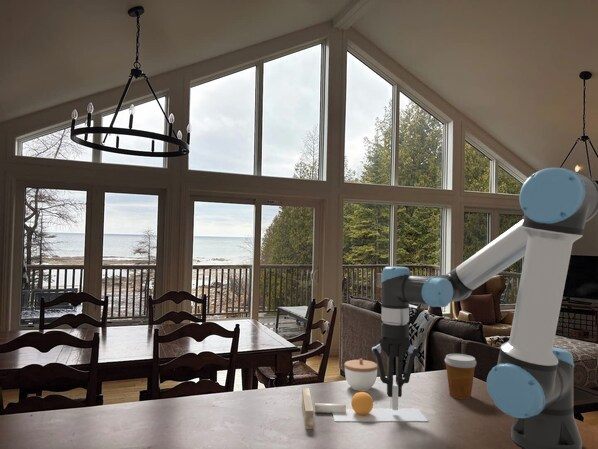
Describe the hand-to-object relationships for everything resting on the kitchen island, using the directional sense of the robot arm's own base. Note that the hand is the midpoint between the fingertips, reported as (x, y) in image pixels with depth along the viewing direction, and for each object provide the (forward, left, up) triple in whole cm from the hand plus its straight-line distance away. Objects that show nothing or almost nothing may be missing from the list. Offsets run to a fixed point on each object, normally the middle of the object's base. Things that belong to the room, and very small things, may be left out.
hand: (394, 408), depth 128 cm
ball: (+7, +5, +1) cm, 9 cm away
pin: (+11, +7, -1) cm, 13 cm away
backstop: (+19, +15, -2) cm, 24 cm away
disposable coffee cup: (-9, -28, -2) cm, 29 cm away
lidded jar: (+19, -15, -2) cm, 24 cm away
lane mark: (+3, +3, -2) cm, 5 cm away
